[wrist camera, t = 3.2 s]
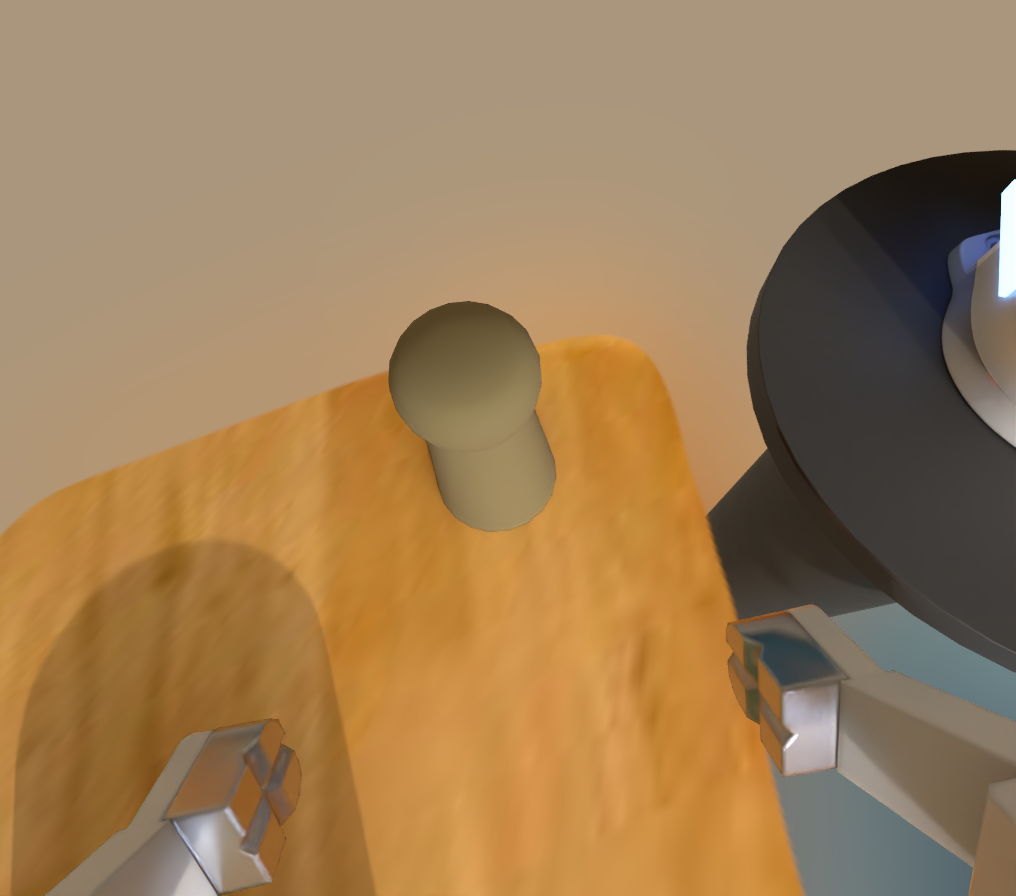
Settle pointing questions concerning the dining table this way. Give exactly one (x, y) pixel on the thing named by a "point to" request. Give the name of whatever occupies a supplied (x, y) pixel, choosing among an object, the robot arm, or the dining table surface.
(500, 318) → the brown peanut shape
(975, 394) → the robot arm
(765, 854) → the dining table surface
